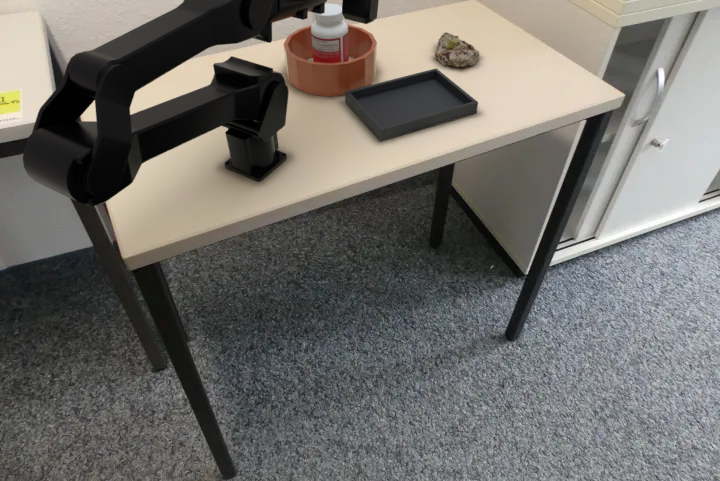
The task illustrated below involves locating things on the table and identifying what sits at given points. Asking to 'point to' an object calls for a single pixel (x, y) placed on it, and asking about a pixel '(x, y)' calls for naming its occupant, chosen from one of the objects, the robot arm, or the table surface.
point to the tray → (410, 103)
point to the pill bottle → (330, 36)
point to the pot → (330, 64)
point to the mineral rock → (455, 51)
